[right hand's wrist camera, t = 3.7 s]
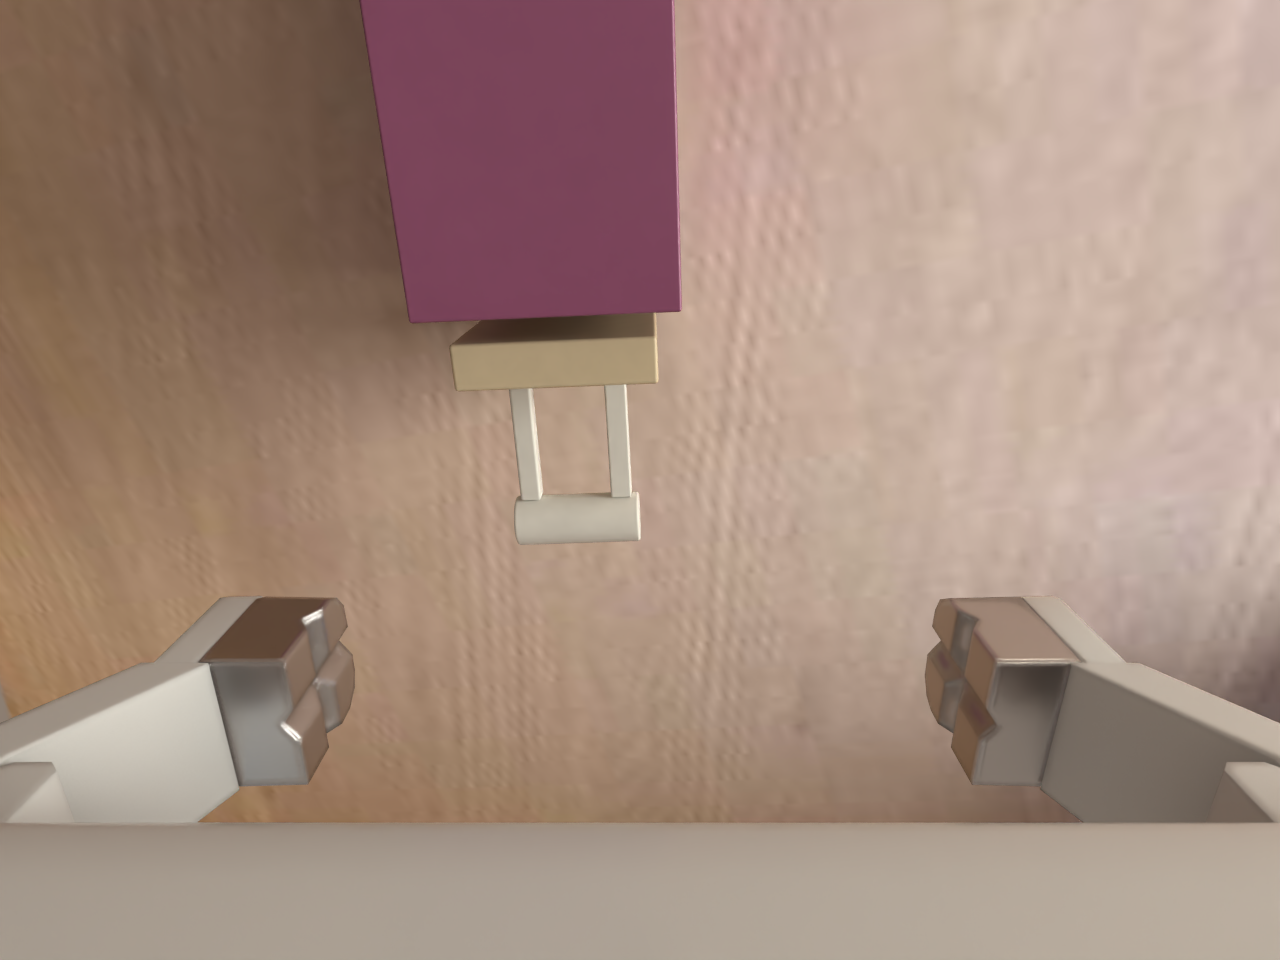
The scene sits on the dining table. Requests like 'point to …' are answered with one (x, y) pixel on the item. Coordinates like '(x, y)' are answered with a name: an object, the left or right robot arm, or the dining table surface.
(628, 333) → the drawer
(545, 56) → the cabinet
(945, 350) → the dining table surface
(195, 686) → the right robot arm
